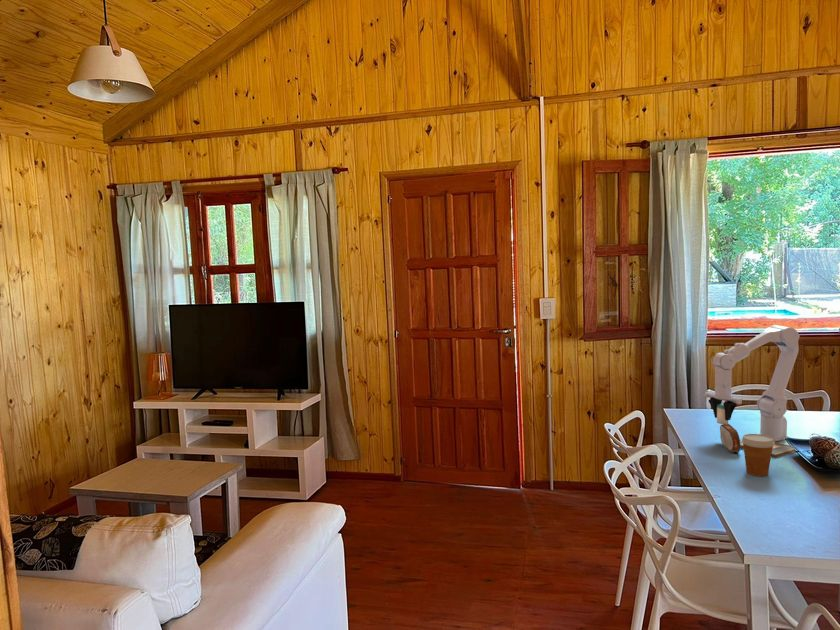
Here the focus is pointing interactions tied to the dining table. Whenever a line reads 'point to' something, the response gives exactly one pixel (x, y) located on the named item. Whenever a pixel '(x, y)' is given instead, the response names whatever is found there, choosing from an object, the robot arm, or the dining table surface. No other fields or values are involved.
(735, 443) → the tin
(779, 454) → the slate board
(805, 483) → the dining table surface
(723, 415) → the beige cylinder
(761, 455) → the disposable coffee cup
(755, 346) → the robot arm
